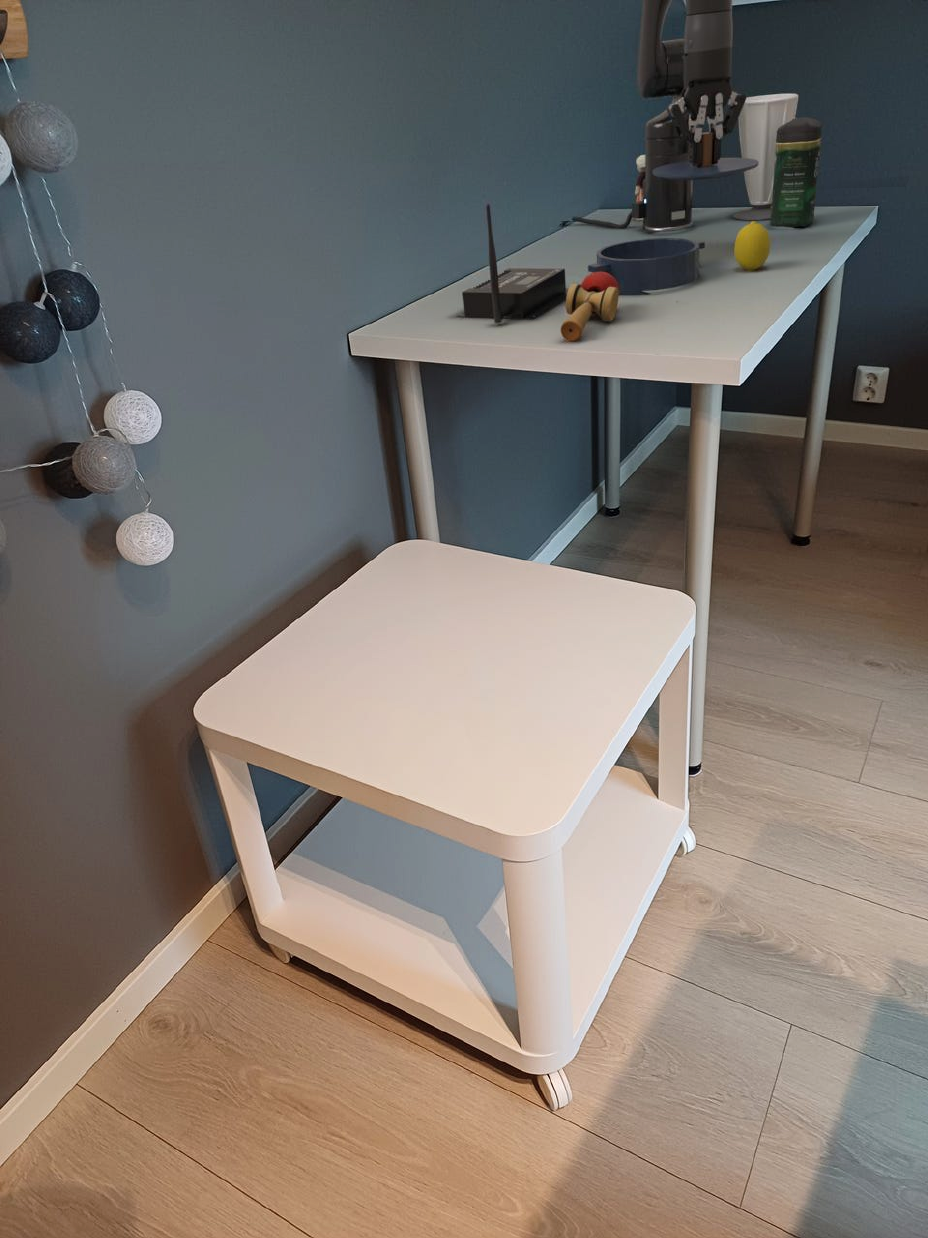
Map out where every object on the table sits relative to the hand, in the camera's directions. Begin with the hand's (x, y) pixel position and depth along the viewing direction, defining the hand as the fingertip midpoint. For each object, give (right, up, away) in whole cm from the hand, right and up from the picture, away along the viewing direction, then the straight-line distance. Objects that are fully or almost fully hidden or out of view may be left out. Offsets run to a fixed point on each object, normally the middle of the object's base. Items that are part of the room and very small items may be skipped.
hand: (704, 164), depth 160 cm
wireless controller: (-33, -27, -8) cm, 44 cm away
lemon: (+6, -20, -5) cm, 22 cm away
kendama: (-22, -34, -21) cm, 46 cm away
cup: (+21, +7, +36) cm, 42 cm away
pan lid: (0, -1, 0) cm, 1 cm away
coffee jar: (+23, 0, +25) cm, 34 cm away
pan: (-10, -21, -3) cm, 24 cm away
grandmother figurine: (-1, +10, +47) cm, 48 cm away
